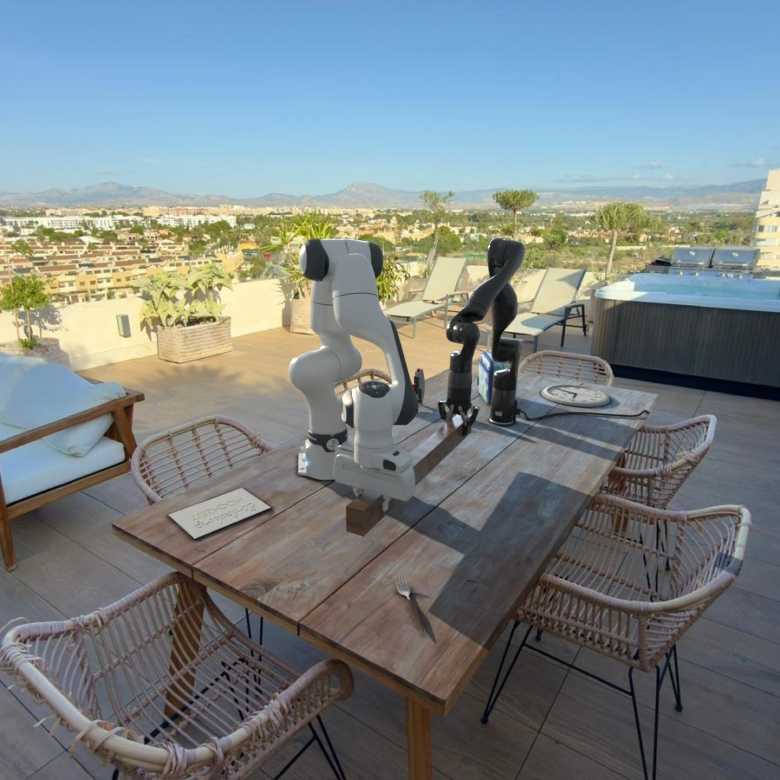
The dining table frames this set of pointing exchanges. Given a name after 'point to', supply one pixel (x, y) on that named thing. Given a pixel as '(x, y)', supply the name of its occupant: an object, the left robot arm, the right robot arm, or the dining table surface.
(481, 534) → the dining table surface
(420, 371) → the toy gun
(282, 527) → the dining table surface
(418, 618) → the fork
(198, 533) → the invitation card
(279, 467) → the dining table surface
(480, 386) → the lunch box
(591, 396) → the wall clock
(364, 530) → the post
